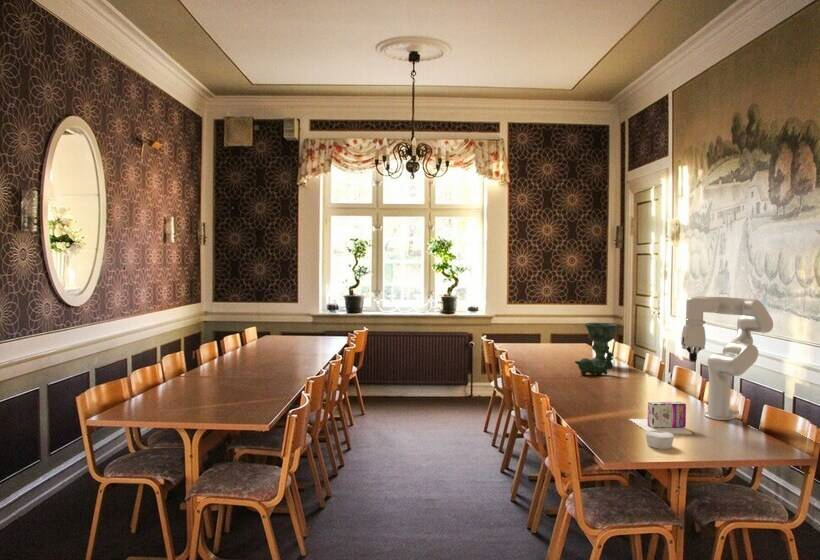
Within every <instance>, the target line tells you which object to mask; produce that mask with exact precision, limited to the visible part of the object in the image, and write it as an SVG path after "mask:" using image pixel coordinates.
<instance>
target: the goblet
mask: <svg viewBox="0 0 820 560" xmlns="http://www.w3.org/2000/svg"><path fill="white" fill-rule="evenodd" d="M584 326H585V327H586V329H587V333H588V336H587V337H588V338H589V340H590V341H592V342H593V344H592V346H591V349H592V350H593V351H594V353H595V357H594V358H591V359H590V360H591V361H592V362H593V363H594V364H596V365H600V366H602V365H603V364H604V363H605V360H606V356H605V355H606V353H605V352H604V351H602V352H600V351H601V350H602V349H608V350H610V346H609V342H611V341H613V339H614V333H615V331H616V329H617V328H618V326H619V325H618V324H615V323H611V322H587V323H585V324H584ZM610 367H612V368H613V367H614V365H613V364H611V365H610Z"/></svg>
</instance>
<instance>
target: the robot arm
mask: <svg viewBox="0 0 820 560" xmlns="http://www.w3.org/2000/svg"><path fill="white" fill-rule="evenodd" d="M685 307H686V309H685V310H686V311H685V325H683V328H682V332H681V338H680V339H681V340H680V344H681V349H683V350H686V351H687V352H688V354H689V355H688V357H689V362H692V363H696V362H697V360H698V354H699V352H700V351H701V350H705V349H706V348H705V347H706V340H707V339H706V330H705V326H704V325H706V323H707V322H706V320H704V313H707V314H708V313H709V314H713V313H714V314H719V315H731V316H739V317H738V319H737V323H736V324H737V325H736V328H737V329H736V330H737V332H736V335H735V336H734V337H733V338H732V339H731V340H729V342H728V343H726V345H725V346H724V347H723V349H722V353H718V352H717V353H715V352H714V353H713V354H712V353H711V355H709V356H708V358H707V368H708V402H707V403H708V404H707V411H706V412H704V417H706V418H708V419H711V420H716V421H718V420H719V421H731V420H733V415H739V414H740V410H737V409H732V408H730V406H731V405H730V404H731V379H730V377H729V376H734V377H740V376H742V375H743V374H744V373H746V372H747V371H748V370H749V369H750V368H751V367H752V366H753V365H754V364H755V363H756V361H757V360H758V357H759V349H758V348H757V346H756V345H755V344H754V338H753V335H752V333H751V332H755V333H762V334H767V333H770V332H771V331H772V330H773V328H774V321H773V318H772V316H771V315H770V313H769V312H768V310H767V308H766V307H765V305H764V304H763V303H762V302H761V301H760V300H759V299H753V298H744V297H741V298H739V297H732V296H731V297H729V296H728V297H727V296H705V295H703V296H702V295H693V296H690V297H687V298H686V303H685Z"/></svg>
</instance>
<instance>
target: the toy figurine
mask: <svg viewBox="0 0 820 560" xmlns="http://www.w3.org/2000/svg"><path fill="white" fill-rule="evenodd" d="M609 350H610V349H609ZM609 350H608V349H602V350H601V351H600V352H602V351H604V352H605V354H606V356H605V358H606V360H605V363H604V364H603V365H602V366H600V365H596V364H594V363H593V362H592V361H591V359H590V358H587V357H585V358H582V359H580V360H575V361H574V363H575V364H576V365H578V369H579V370H580V374H581V376H586V374H588V373H589V374H590V375H592V376H596V375H598V376H600V377H601V376H602V375H603V374H604V375H608V370H612V368H613V367H610V365H611V364H613V362H612V361H613V359H614V358H613V356H614V353H613V352H611V351H609Z"/></svg>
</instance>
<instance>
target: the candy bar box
mask: <svg viewBox="0 0 820 560" xmlns="http://www.w3.org/2000/svg"><path fill="white" fill-rule="evenodd" d="M647 419H648V426H650V427H652V428H686V426H687V425H686V422H687V404H686V403H685V402H682V401H651V402H650V401H649V402H648V401H647Z"/></svg>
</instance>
